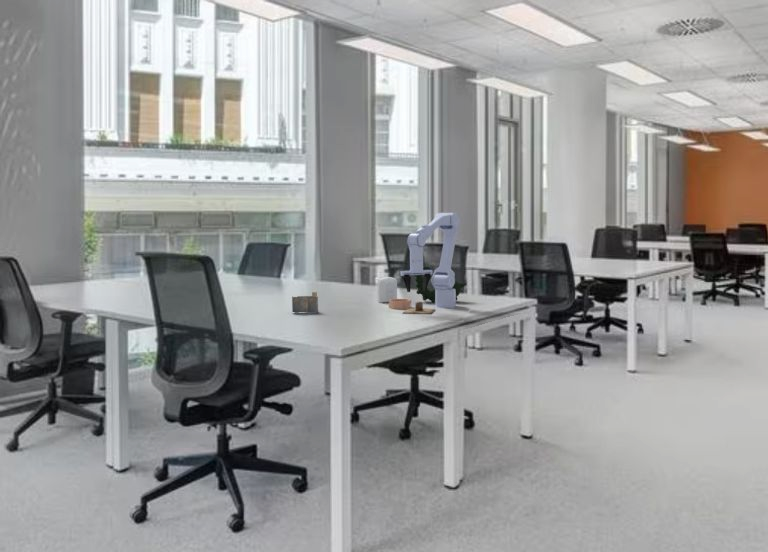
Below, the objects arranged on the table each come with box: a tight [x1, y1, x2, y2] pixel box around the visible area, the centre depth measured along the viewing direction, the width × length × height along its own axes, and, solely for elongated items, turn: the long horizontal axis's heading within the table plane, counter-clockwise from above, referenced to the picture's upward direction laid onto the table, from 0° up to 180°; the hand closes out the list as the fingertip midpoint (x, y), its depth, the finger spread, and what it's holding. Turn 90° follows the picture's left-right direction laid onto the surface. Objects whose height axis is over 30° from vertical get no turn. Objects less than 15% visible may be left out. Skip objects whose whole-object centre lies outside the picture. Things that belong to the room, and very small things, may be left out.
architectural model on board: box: [291, 291, 319, 313], centre depth 309 cm, size 11×3×10 cm, turn 94°
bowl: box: [388, 298, 412, 310], centre depth 316 cm, size 10×10×4 cm
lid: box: [402, 301, 436, 315], centre depth 302 cm, size 12×12×4 cm
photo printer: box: [377, 276, 398, 304], centre depth 341 cm, size 10×4×12 cm, turn 123°
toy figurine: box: [414, 265, 467, 303], centre depth 338 cm, size 9×19×25 cm
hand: (416, 291), depth 303 cm, fingers open, 7 cm apart
